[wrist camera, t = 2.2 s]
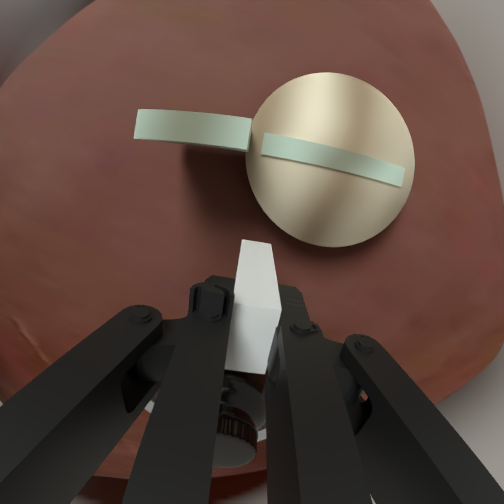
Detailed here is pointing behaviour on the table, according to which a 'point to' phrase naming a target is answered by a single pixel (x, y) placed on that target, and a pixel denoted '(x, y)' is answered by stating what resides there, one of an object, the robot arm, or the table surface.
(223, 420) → the supplement bottle
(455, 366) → the table surface
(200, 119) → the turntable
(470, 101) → the table surface
